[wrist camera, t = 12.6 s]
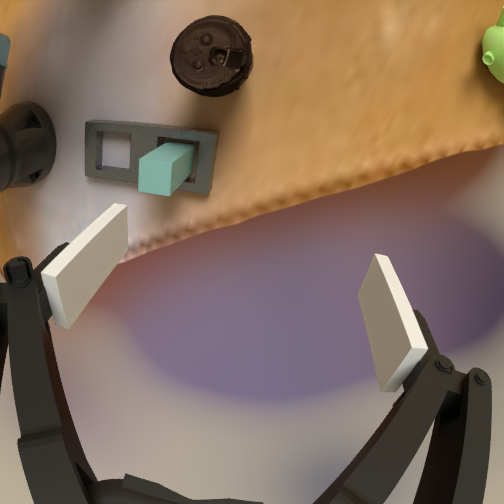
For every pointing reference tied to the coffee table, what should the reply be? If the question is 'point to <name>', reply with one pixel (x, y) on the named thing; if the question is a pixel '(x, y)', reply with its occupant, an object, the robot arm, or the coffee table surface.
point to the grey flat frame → (149, 150)
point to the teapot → (495, 48)
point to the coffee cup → (212, 56)
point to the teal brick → (165, 168)
